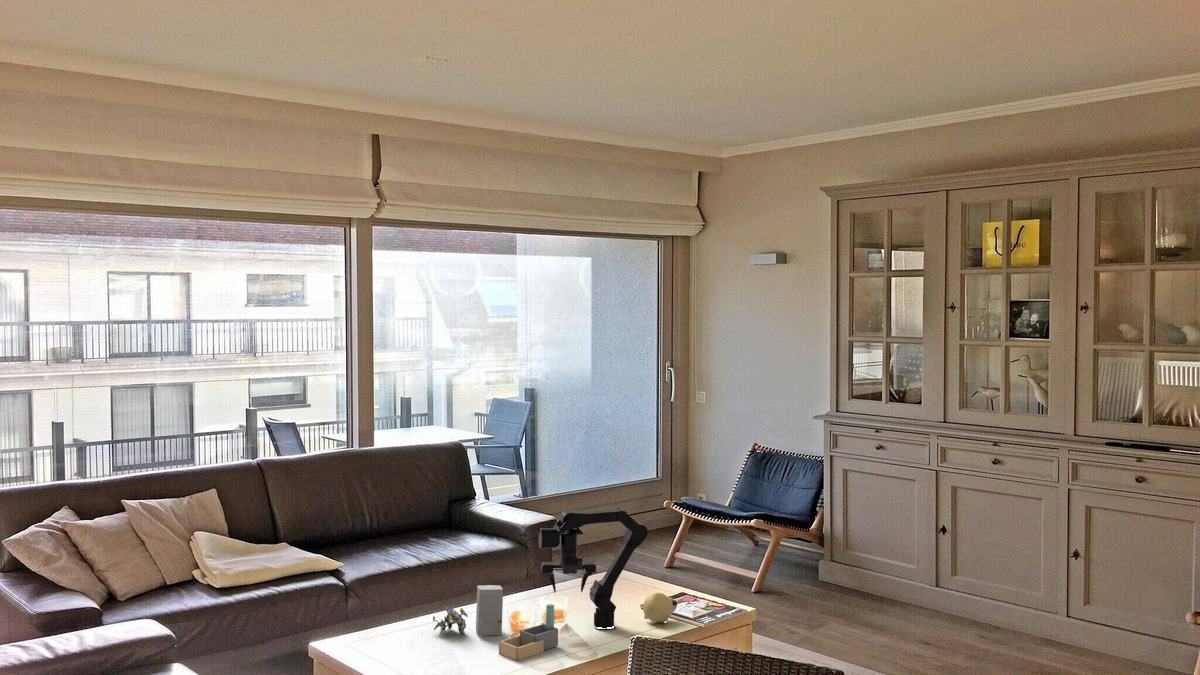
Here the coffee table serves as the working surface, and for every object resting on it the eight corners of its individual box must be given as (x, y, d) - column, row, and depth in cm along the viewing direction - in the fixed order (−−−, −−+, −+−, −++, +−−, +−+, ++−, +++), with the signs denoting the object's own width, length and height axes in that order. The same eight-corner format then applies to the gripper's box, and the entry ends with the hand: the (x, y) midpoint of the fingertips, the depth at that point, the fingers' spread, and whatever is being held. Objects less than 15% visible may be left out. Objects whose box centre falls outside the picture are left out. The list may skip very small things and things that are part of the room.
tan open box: (524, 645, 318) (525, 633, 318) (543, 652, 312) (543, 640, 312) (498, 653, 310) (499, 641, 310) (517, 660, 304) (517, 648, 304)
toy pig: (681, 623, 344) (681, 593, 344) (654, 629, 337) (654, 598, 337) (664, 616, 352) (665, 586, 352) (637, 621, 345) (638, 591, 345)
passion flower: (461, 650, 329) (472, 627, 323) (430, 648, 325) (441, 624, 319) (458, 623, 338) (469, 600, 332) (428, 620, 334) (438, 597, 328)
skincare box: (478, 637, 326) (478, 590, 326) (475, 630, 333) (475, 584, 333) (503, 635, 328) (503, 588, 328) (499, 628, 335) (500, 583, 335)
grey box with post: (544, 640, 323) (545, 602, 323) (559, 645, 318) (559, 606, 318) (519, 647, 315) (520, 608, 315) (534, 653, 310) (534, 613, 310)
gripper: (542, 553, 326) (542, 599, 326) (598, 552, 328) (597, 598, 328) (541, 545, 337) (540, 590, 337) (594, 544, 339) (594, 589, 339)
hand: (568, 592), depth 335 cm, fingers open, 9 cm apart
